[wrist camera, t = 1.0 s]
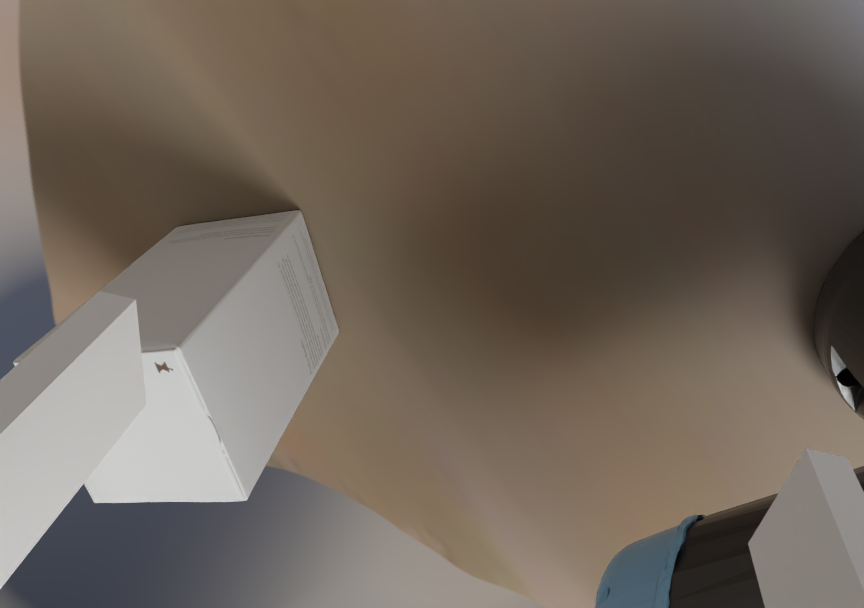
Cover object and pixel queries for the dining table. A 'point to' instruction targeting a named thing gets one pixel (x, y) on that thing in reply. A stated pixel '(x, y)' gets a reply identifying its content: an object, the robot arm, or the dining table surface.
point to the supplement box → (216, 357)
